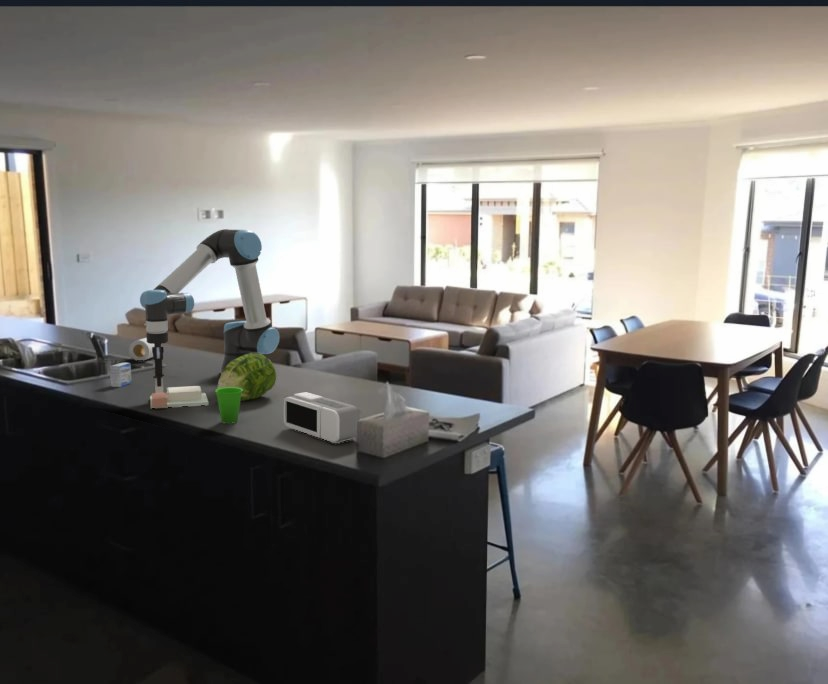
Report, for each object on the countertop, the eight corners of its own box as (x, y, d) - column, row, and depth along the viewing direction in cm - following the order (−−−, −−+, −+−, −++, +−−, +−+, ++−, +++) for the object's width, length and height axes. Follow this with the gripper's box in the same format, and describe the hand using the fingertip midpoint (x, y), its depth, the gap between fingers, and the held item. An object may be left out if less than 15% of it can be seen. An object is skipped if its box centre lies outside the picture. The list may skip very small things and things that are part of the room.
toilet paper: (140, 356, 358) (139, 336, 356) (159, 357, 357) (159, 337, 355) (129, 360, 348) (128, 339, 347) (149, 361, 347) (148, 340, 345)
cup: (218, 418, 252) (217, 386, 250) (245, 418, 252) (244, 387, 251) (213, 425, 243) (212, 393, 241) (241, 425, 244) (240, 393, 242)
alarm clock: (283, 428, 241) (282, 393, 239) (305, 423, 248) (305, 389, 246) (337, 447, 223) (337, 409, 221) (359, 441, 229) (360, 404, 227)
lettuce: (205, 401, 275) (204, 360, 269) (250, 381, 294) (251, 342, 287) (238, 417, 267) (238, 375, 260) (282, 396, 285) (284, 356, 279)
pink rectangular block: (166, 400, 269) (166, 392, 269) (166, 406, 261) (166, 398, 260) (151, 401, 268) (151, 393, 267) (152, 407, 259) (151, 398, 259)
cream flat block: (200, 393, 281) (199, 385, 281) (201, 398, 273) (201, 390, 272) (167, 395, 277) (166, 387, 277) (167, 400, 269) (167, 392, 268)
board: (205, 395, 282) (205, 392, 282) (208, 405, 269) (208, 402, 268) (150, 399, 276) (150, 395, 275) (150, 408, 262) (150, 405, 262)
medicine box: (120, 387, 293) (119, 366, 292) (110, 386, 294) (109, 365, 293) (131, 383, 301) (130, 362, 299) (121, 382, 302) (121, 362, 300)
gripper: (146, 329, 275) (148, 391, 279) (146, 335, 263) (149, 399, 267) (167, 329, 277) (169, 389, 281) (168, 334, 265) (170, 397, 269)
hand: (159, 394), depth 274 cm, fingers closed
